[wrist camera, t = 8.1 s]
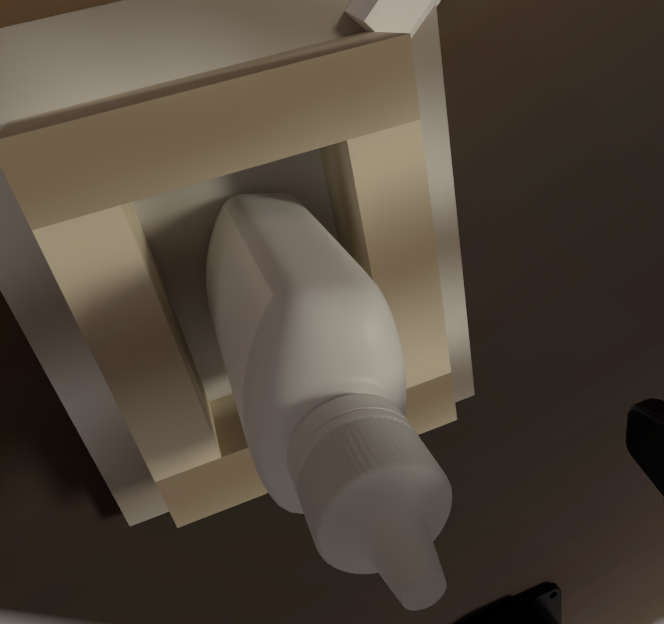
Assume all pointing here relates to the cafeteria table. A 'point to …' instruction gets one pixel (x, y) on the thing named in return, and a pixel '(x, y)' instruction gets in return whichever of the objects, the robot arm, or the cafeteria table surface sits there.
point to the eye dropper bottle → (325, 393)
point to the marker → (390, 14)
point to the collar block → (213, 214)
